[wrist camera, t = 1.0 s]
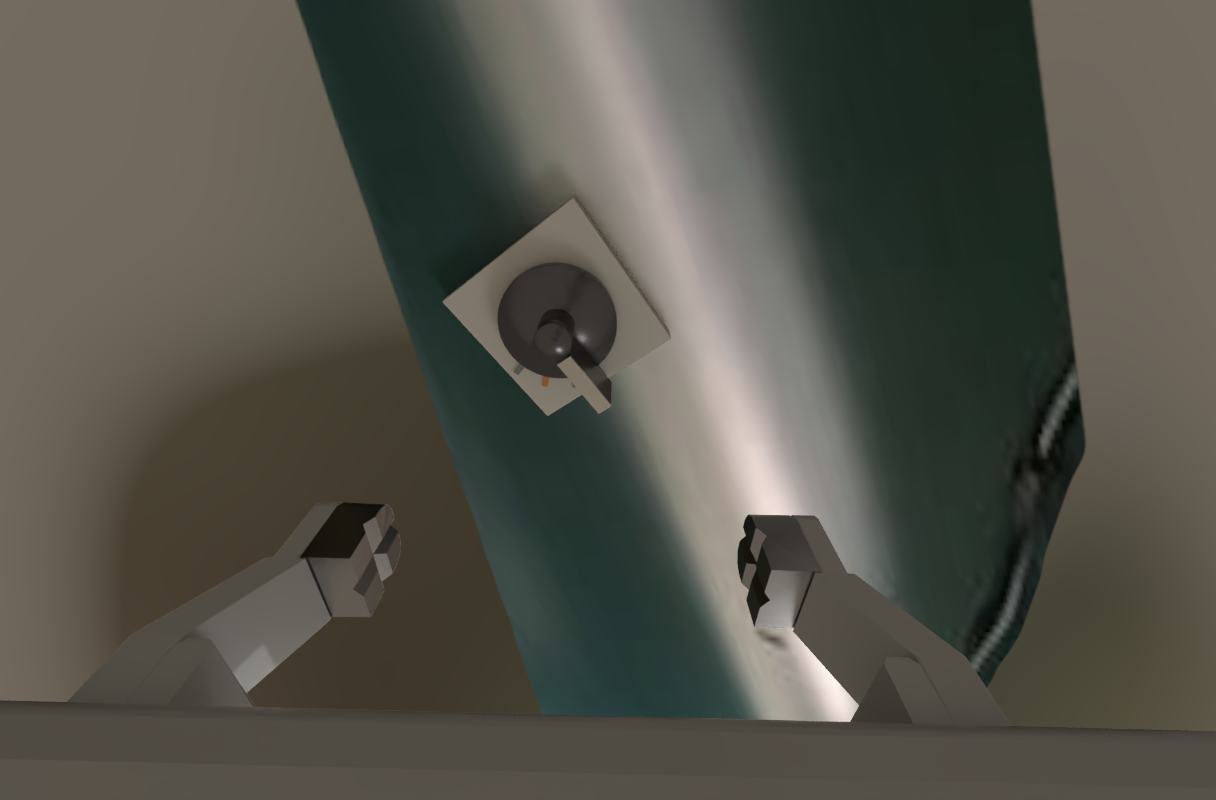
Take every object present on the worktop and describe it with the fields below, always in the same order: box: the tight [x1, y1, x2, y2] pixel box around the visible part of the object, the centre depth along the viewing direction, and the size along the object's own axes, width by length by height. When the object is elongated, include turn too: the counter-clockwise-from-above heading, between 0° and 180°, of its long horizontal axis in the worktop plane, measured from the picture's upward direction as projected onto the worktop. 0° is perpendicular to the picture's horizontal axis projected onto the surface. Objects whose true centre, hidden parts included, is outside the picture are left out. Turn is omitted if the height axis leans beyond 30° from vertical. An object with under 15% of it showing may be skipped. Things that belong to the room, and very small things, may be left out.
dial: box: [497, 262, 617, 414], centre depth 38 cm, size 12×10×5 cm
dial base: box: [443, 195, 671, 416], centre depth 41 cm, size 14×14×2 cm
